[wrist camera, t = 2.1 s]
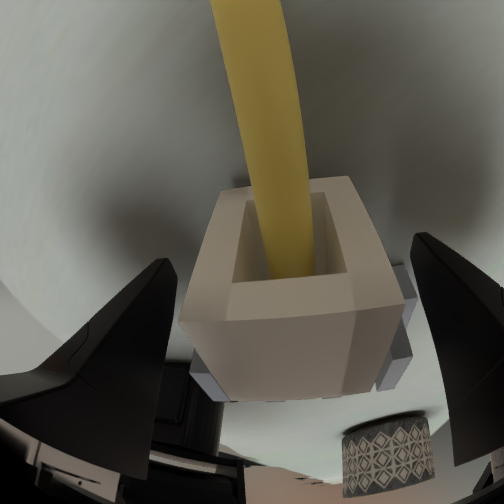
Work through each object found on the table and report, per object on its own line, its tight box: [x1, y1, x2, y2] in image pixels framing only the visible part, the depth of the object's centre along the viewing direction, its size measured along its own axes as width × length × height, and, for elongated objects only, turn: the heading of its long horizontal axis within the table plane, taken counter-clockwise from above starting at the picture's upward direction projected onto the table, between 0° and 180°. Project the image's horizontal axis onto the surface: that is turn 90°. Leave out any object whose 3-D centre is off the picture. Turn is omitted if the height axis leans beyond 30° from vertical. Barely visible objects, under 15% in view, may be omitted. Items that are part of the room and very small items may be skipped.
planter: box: [342, 416, 435, 498], centre depth 26 cm, size 13×13×10 cm
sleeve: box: [178, 176, 406, 401], centre depth 8 cm, size 4×4×5 cm
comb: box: [189, 265, 418, 402], centre depth 11 cm, size 3×10×5 cm, turn 101°
